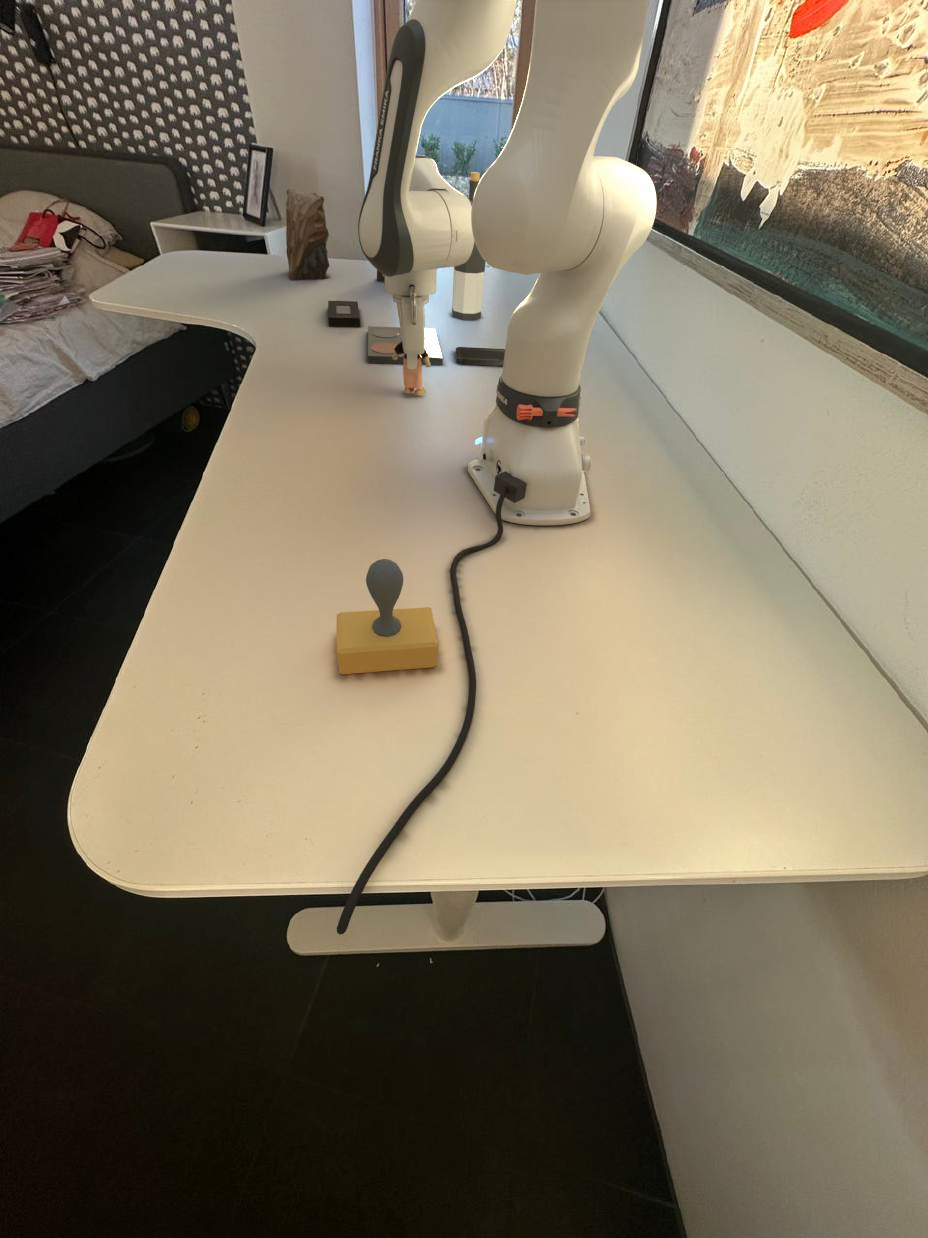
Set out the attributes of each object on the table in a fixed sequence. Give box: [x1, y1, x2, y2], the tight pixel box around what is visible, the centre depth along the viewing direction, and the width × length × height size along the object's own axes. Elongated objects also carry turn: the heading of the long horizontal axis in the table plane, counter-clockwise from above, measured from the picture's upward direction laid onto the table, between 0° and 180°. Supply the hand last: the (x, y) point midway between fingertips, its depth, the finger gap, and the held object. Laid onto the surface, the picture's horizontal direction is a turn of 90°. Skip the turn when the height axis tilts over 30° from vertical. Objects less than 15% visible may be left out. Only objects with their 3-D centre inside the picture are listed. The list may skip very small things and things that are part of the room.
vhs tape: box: [327, 300, 361, 328], centre depth 137 cm, size 8×14×2 cm, turn 10°
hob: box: [367, 325, 444, 366], centre depth 125 cm, size 20×16×2 cm
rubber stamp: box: [335, 558, 439, 675], centre depth 54 cm, size 10×6×12 cm, turn 99°
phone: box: [454, 346, 505, 367], centre depth 123 cm, size 8×1×15 cm
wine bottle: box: [451, 171, 486, 321], centre depth 136 cm, size 8×8×30 cm
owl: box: [285, 188, 330, 281], centre depth 159 cm, size 13×13×20 cm
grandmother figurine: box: [392, 323, 432, 396], centre depth 102 cm, size 8×4×13 cm, turn 80°
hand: (411, 363), depth 103 cm, fingers closed on grandmother figurine, 3 cm apart
